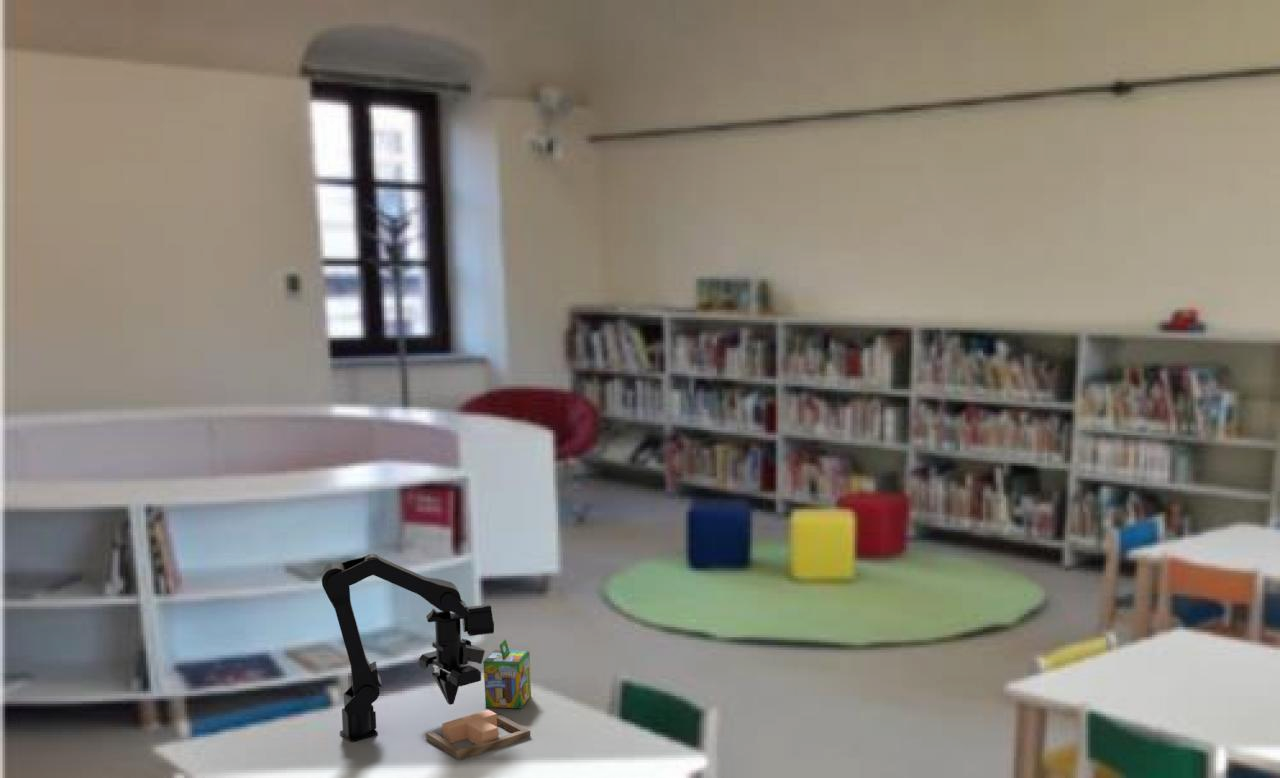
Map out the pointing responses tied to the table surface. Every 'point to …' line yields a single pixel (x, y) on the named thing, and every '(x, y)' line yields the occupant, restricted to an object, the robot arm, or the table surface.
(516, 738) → the bay
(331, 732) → the table surface
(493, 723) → the t block
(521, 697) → the chalk box
